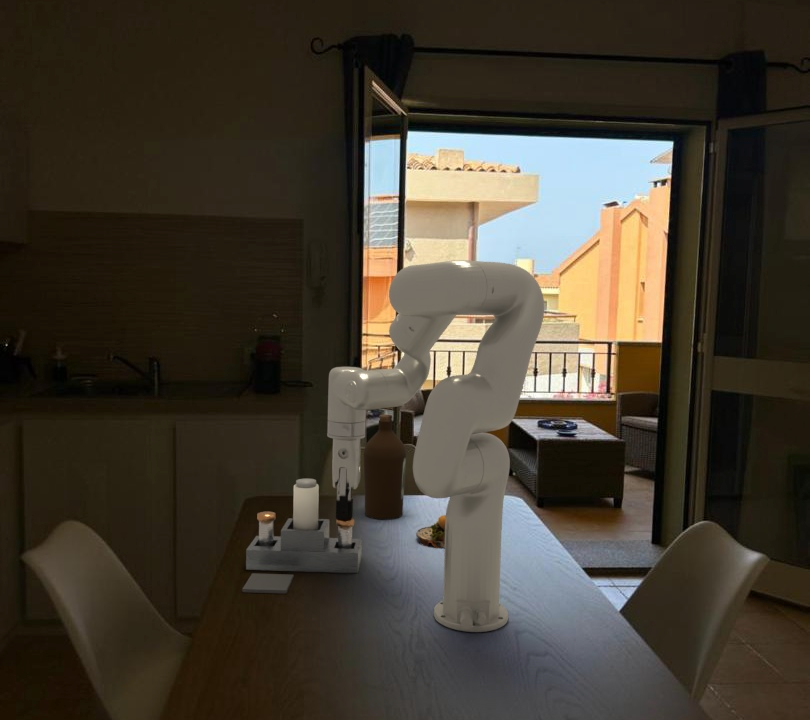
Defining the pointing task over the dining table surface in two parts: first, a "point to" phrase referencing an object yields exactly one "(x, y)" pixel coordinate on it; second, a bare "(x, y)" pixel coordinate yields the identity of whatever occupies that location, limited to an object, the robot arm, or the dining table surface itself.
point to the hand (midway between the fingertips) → (344, 518)
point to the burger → (433, 534)
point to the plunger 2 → (345, 533)
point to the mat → (268, 583)
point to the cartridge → (305, 504)
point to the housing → (304, 551)
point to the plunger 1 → (266, 528)
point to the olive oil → (384, 472)
